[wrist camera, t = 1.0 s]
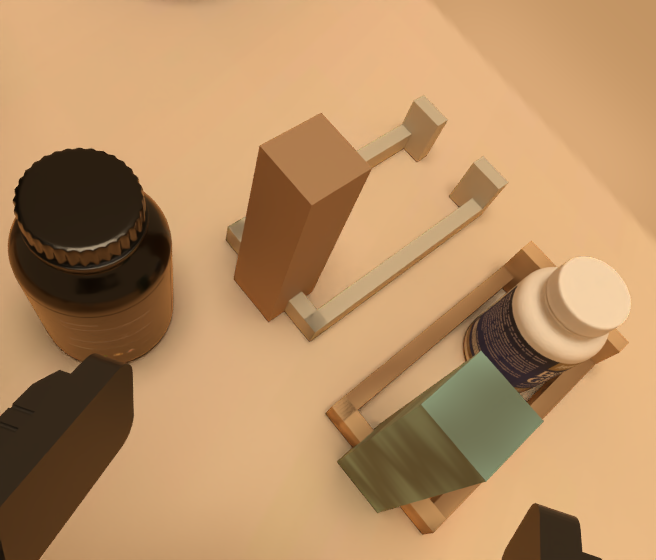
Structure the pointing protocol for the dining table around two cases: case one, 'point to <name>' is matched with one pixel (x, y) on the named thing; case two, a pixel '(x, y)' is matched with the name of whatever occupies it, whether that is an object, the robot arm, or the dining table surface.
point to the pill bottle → (550, 321)
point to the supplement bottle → (92, 255)
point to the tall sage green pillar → (449, 417)
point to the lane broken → (334, 214)
